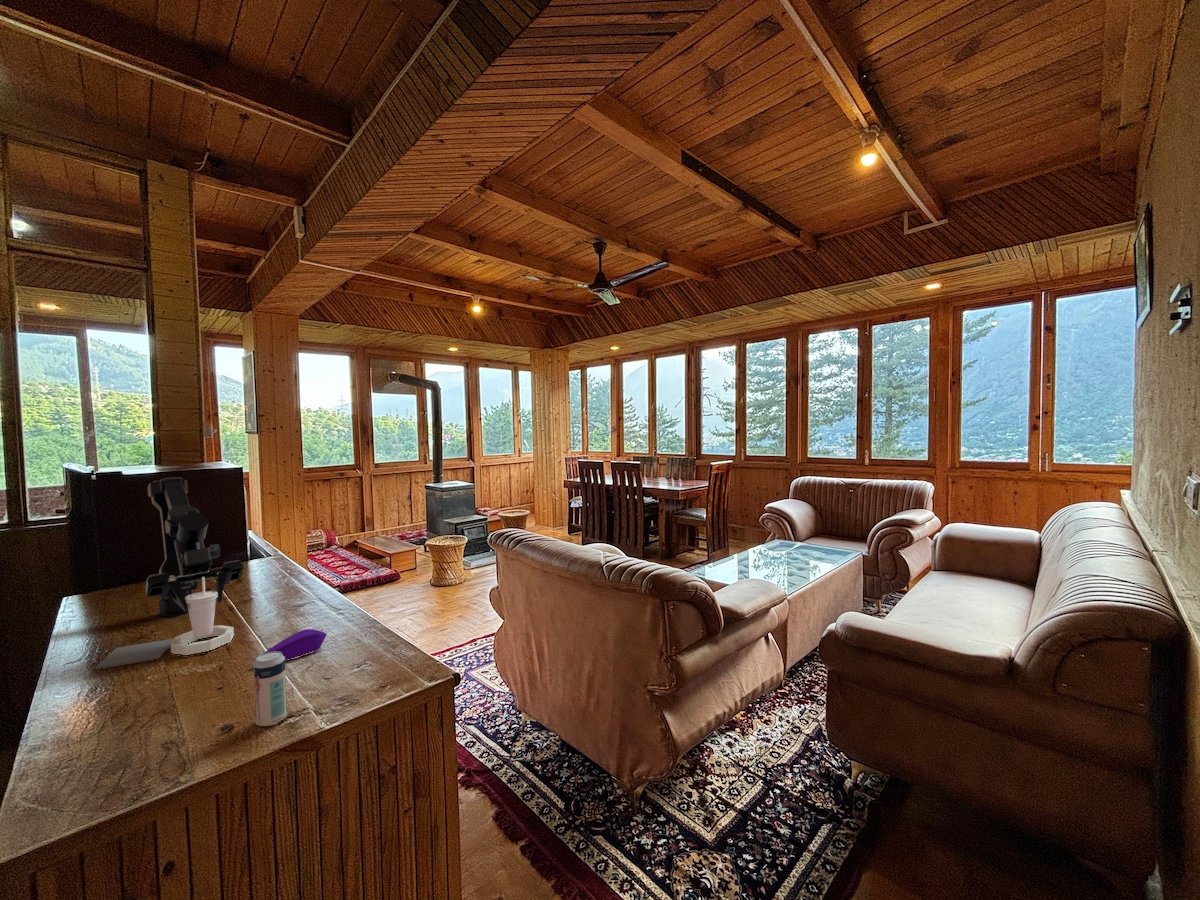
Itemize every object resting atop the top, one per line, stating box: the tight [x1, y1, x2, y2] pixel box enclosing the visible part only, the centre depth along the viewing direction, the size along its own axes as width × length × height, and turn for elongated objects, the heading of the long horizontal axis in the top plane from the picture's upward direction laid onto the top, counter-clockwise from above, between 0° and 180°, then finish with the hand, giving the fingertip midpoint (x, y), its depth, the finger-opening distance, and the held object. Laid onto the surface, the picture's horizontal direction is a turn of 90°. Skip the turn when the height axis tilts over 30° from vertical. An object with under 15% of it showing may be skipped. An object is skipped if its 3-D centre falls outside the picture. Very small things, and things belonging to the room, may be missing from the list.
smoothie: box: [185, 577, 218, 637], centre depth 121 cm, size 6×6×14 cm
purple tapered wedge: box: [262, 628, 328, 660], centre depth 115 cm, size 5×5×15 cm
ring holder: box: [170, 624, 235, 655], centre depth 121 cm, size 12×12×2 cm
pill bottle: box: [252, 651, 288, 727], centre depth 89 cm, size 5×5×12 cm
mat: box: [94, 638, 175, 670], centre depth 117 cm, size 11×11×1 cm
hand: (203, 606), depth 120 cm, fingers closed on smoothie, 6 cm apart
